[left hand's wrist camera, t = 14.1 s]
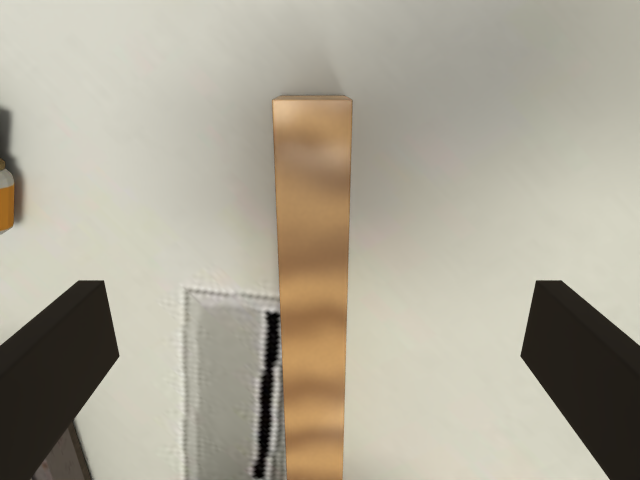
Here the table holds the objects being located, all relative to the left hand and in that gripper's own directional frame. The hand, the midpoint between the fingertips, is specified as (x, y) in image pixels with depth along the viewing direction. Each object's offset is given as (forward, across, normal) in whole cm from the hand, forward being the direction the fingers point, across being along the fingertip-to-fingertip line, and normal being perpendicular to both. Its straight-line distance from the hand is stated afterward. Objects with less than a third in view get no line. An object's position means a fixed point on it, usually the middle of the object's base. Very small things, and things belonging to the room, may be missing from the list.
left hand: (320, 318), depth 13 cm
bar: (+26, -1, -18) cm, 32 cm away
